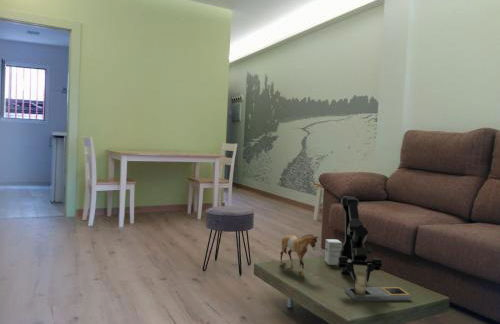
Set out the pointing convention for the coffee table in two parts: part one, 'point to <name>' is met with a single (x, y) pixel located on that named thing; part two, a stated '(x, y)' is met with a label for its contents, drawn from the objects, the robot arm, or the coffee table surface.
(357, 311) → the coffee table surface
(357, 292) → the peg
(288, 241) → the horse figurine
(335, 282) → the coffee table surface
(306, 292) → the coffee table surface
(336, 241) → the supplement box
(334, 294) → the coffee table surface
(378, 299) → the board with square holes
